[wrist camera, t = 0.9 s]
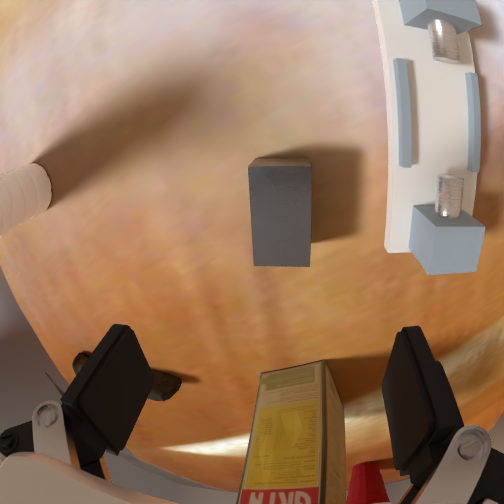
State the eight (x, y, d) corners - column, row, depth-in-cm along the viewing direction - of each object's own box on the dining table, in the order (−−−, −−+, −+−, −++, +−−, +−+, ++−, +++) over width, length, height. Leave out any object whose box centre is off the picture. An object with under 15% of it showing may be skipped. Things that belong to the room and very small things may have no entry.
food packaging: (255, 372, 36) (218, 558, 14) (326, 357, 33) (326, 564, 11) (288, 421, 41) (271, 564, 18) (346, 410, 38) (348, 562, 16)
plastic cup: (335, 475, 51) (335, 517, 40) (349, 459, 46) (350, 507, 36) (377, 472, 50) (380, 512, 39) (395, 455, 45) (400, 501, 34)
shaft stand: (368, -14, 15) (387, -45, 9) (453, 4, 14) (487, -14, 8) (384, 246, 26) (404, 281, 20) (459, 243, 24) (490, 275, 19)
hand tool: (88, 364, 43) (75, 382, 39) (80, 348, 41) (66, 367, 37) (185, 388, 40) (177, 412, 36) (181, 372, 39) (171, 397, 34)
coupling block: (255, 158, 24) (248, 166, 20) (308, 157, 24) (311, 165, 20) (260, 242, 28) (253, 265, 24) (308, 243, 27) (309, 266, 23)
